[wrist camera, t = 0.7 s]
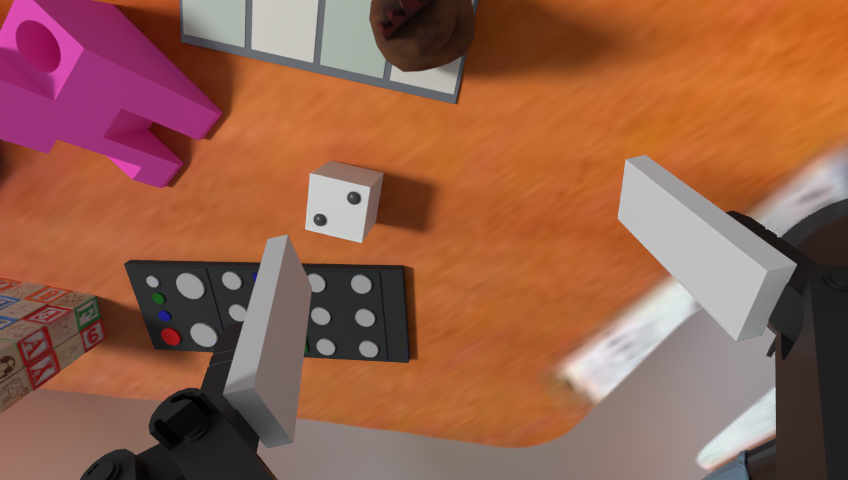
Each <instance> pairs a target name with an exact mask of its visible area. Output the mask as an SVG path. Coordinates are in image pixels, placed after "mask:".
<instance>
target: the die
mask: <svg viewBox="0 0 848 480" xmlns="http://www.w3.org/2000/svg"><path fill="white" fill-rule="evenodd" d="M383 175H384V173H382V172H377V171H373V170H369V169H365V168H360V167H356V166H352V165H348V164H343V163H339V162H335V161H329V162H328V163H326V164H324V165H323V166H321V167H320V168H318V169H316V170H315V171H313V172H311V173H310V181H309V193H308V204H307V215H306V226H305V230H310V231H314V232H318V233H322V234H326V235H330V236H335V237H339V238H343V239H347V240H351V241H355V242H359V243H362V242H363V241H364V239H365V238H366V236H367V235H368V233H369V232H370V230H371V229H372V228H373V226H374V225H375V223H376V217H377V211H378V205H379V199H380V193H381V187H382V181H383Z"/></svg>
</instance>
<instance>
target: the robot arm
mask: <svg viewBox="0 0 848 480" xmlns="http://www.w3.org/2000/svg"><path fill="white" fill-rule="evenodd" d="M618 219H619V220H620V221H621V222H622V224H623V225H624V226H625V227H626V228H627V229H628V230H629V231H630V232H631V233H632V234H633V235H634V236H635V237H636V238H637V239H638V240H639V241H640V242H641V243H642V244H643V245H644V246H645V247H646V248H647V249H648V250H649V252H650V253H651V254H652V255H653V256H654V257H655V258H656V259H657V260H658V261H659V262H660V263H661V264H662V265H663V266H664V267H665V268H666V269H667V270H668V271H669V272H670V273H671V274H672V275H673V276H674V277H675V278H676V280H677V281H678V282H679V283H680V284H681V285H682V286H683V287H684V288H685V289H686V290H687V291H688V292H689V293H690V294H691V295H692V296H693V297H694V298H695V299H696V300H697V301H698V302H699V303H700V304H701V305H702V307H703V308H704V309H705V310H707V312H708V313H709V314H710V315H711V316H712V317H713V318H714V319H715V320H716V321H717V322H718V323H719V324H720V325H721V326H722V327H723V328H724V329H725V330H726V331H727V332H728V333H729V334H730V336H731V337H732V338H734V340H735V341H740V340H744V339H749V338H753V337H758V336H762V334H763V332H764V330H765V328H766V326H767V327H768V328H769V329H770V330H771V331H772V332H773V333H774V334H775V335H776V337H775V339H774V341H773V343H772V345H771V346H770V348H769V350H768V353H767V356H769V357H771V356H772V355H773V353H774V352H775V357H776V358H775V360H776V361H775V367H776V438H774V439H772V440H770V441H768V442H766V443H764V444H762V445H760V446H758V447H756V448H754V449H752V450H750V451H748V450H745V451H741V452H740V454H738V458H736V459H734V460H733V461H731V462H729V463H727V464H726V465H724V466H722V467H720V468H719V469H717V470H715V471H713V472H712V473H710V474H708V475H707V476H706V477H704V479H703V480H848V199H845V200H842V201H839V202H836V203H834V204H831V205H829V206H827V207H824V208H822V209H820V210H818V211H816V212H815V213H813V214H811V215H809V216H808V217H806V218H805V219H803V220H802V221H800V222H799V223H797V224H796V225H795V226H794V227H792V228H791V229H790V230H789V231H788V232H787V233H785V234H784V235H783V236H782V237H781V238H780V237H779V238H778V237H777V235H776V234H774V233H773V232H771V231H770V230H768V229H767V230H766V229H765V227H764V226H763V225H761V224H760V223H758V222H757V221H755V220H754V219H752V218H751V217H748V216H745V215H743V214H740V213H738V212H735V211H729V212H724V211H722V210H721V209H720V208H718V207H717V206H715V205H714V204H713V203H711V202H710V201H708V200H707V199H706V198H704V197H703V196H702V195H700V194H699V193H697V192H696V191H695V190H693V189H692V188H690V187H689V186H688V185H686V184H685V183H684V182H682V181H681V180H679V179H678V178H677V177H675V176H674V175H672V174H671V173H670V172H668V171H667V170H665V169H664V168H663V167H661V166H660V165H659V164H657V163H656V162H654V161H653V160H652V159H650V158H649V157H647V156H646V155H643V156H639V157H634V158H630V159H626V162H625V169H624V177H623V184H622V191H621V198H620V206H619V213H618ZM311 292H312V286H311V284H310V281H309V279H308V277H307V275H306V273H305V271H304V269H303V266H302V264H301V262H300V260H299V258H298V256H297V253H296V251H295V249H294V247H293V245H292V243H291V240H290V238H289V236H288V235H284V236H279V237H275V238H270V239H268V240H267V244H266V247H265V251H264V254H263V258H262V261H261V265H260V268H259V271H258V275H257V278H256V282H255V285H254V289H253V292H252V296H251V299H250V302H249V306H248V309H247V313H246V316H245V320H244V322H239V323H235V324H231V325H228V326H227V327H226V329H225V330H224V331H223V333H222V334H221V335H220V336H219V338H218V339H217V342H216V345H215V348H214V351H213V356H212V357H211V360H210V363H209V367H208V368H207V371H206V374H205V377H204V380H203V383H202V386H201V389H200V390H199V389H198V388H187V389H183V390H180V391H178V392H176V393H174V394H173V395H171V396H169V397H168V398H167V399H166V400H164V401H163V402H162V403H161V404H160V405H159V406H158V407H157V409H156V410H155V412H154V413H153V415H152V417H151V420H150V423H149V431H150V434H151V435H152V436H153V437H154V438H155V439H156V440H158V441H159V442H160V443H159V444H157V445H155V446H154V447H151V448H150V449H148V450H146V451H144V452H142V453H140V454H138V455H135V454H133V453H132V452H131V451H128V450H126V449H120V450H115V451H112V452H110V453H108V454H106V455H104V456H102V457H101V458H100V459H98V460H97V461H96V462H94V463H93V464H92V465H91V466H90V467H89V468H88V469H87V470H86V472H85V473H84V474H83V476H82V477H81V479H80V480H278V479H277V478H276V477H275V476H274V474H273V473H272V472H271V471H270V469H269V468H268V467H267V466H266V464H265V463H264V462H263V461H262V459H261V458H260V457H259V456H258V455H257V448H258V442H259V439H260V440H261V442H262V443H263V444H264V445H265V446H266V447H267V448H271V447H276V446H280V445H284V444H289V443H293V440H294V432H295V424H296V416H297V408H298V400H299V391H300V383H301V375H302V367H303V358H304V350H305V342H306V333H307V325H308V317H309V308H310V300H311Z"/></svg>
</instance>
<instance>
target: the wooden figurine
mask: <svg viewBox="0 0 848 480" xmlns="http://www.w3.org/2000/svg"><path fill="white" fill-rule="evenodd" d="M474 20H475V16H474V10H473V5H472V0H372V1H371V7H370V15H369V21H370V24H371V28H372V31H373V34H374V38H375V41H376V45H377V47H378V49H379V50H380V52H381V53H382V55H383V56H384V58H385V59H386V61H387V62H389V63H391V64H392V65H394V66H395V67H397V68H398V69H400V70H401V71H403V72H418V71H425V70H429V69H433V68H437V67H440V66H443V65H446V64H448V63H451V62H453V61H455V60H456V59H458V58H460V57H462V56H463V55H465V54H466V52H467V50H468V48H469V46H470V44H471V42H472V40H473V38H474Z"/></svg>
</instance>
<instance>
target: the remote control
mask: <svg viewBox="0 0 848 480" xmlns="http://www.w3.org/2000/svg"><path fill="white" fill-rule="evenodd" d="M301 264H302V266H303V269H304V271H305V273H306V275H307V277H308V279H309V281H310V284H311V286H312V292H311V300H310V308H309V317H308V325H307V333H306V342H305V350H304V357H310V358H328V359H347V360H366V361H384V362H403V363H409V359H410V351H409V336H408V321H407V306H406V291H405V276H404V266H401V265H352V264H303V263H301ZM124 265H125V268H126V271H127V274H128V276H129V279H130V282H131V285H132V287H133V290H134V293H135V296H136V299H137V301H138V304H139V307H140V310H141V313H142V315H143V318H144V321H145V324H146V326H147V329H148V332H149V335H150V338H151V340H152V343H153V346H154V349H161V350H179V351H198V352H213V351H214V348H215V345H216V342H217V339H218V338H219V336H220V335H221V334H222V333H223V331H224V330H225V329H226V327H227V326H228V325H231V324H235V323H239V322H244V320H245V316H246V313H247V309H248V306H249V302H250V299H251V296H252V292H253V289H254V285H255V282H256V278H257V275H258V271H259V268H260V265H261V263H253V262H204V261H155V260H130V261H128V262H126V263H124Z"/></svg>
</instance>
